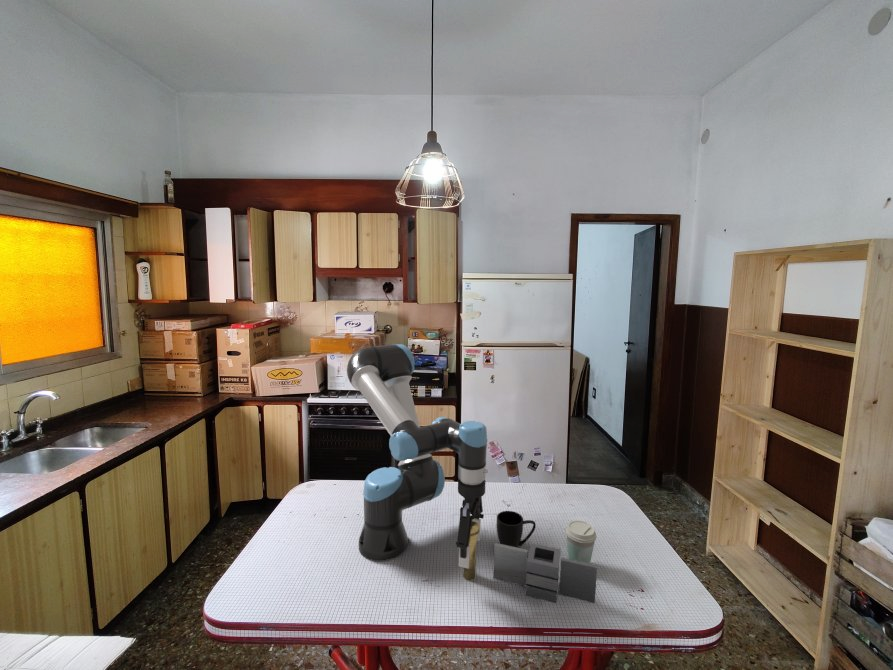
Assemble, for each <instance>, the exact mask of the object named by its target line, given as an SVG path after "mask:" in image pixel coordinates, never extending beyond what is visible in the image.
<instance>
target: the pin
mask: <svg viewBox="0 0 893 670" xmlns="http://www.w3.org/2000/svg"><path fill="white" fill-rule="evenodd" d="M478 532H479V525H478V523H476V522H474V521H472V525H471V532H470V538H469V544H470V557H469V569H468V568H463V567H462V568H463V569H462V577H463V579H464V580H466V581H473V580H475V579H476V576H477V573H476V572H477V571H476V570H477V569H476V568H477V541H476V539H477V534H478Z"/></svg>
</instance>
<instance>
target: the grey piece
mask: <svg viewBox="0 0 893 670" xmlns="http://www.w3.org/2000/svg"><path fill="white" fill-rule="evenodd" d="M493 546H494V549H493V551H494V552H493V572H492V573H493V575H492V577H493V579H494V580H499V581H503V582H507V583H510V584H515V585H518V586H523V587H526V584H530V585H534V586H538V587H542V588H546V589H550V590H554V591H557V589H558V590H559V580H558V579H556V578H552V577H548V576H543V575H539V574H535V573H531V572H527V559H528V554H529V549H525V548H520V547H518V548H517V547H512V546H508V545H503V544H500V543H497V542H494V545H493ZM535 559H537V560H541V561H546V562H550V563H553V561H550V560H545V559H541V558H537V557H535ZM559 564H561V561H560V562H559ZM558 577H559V578H560V573H559V574H558Z"/></svg>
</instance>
